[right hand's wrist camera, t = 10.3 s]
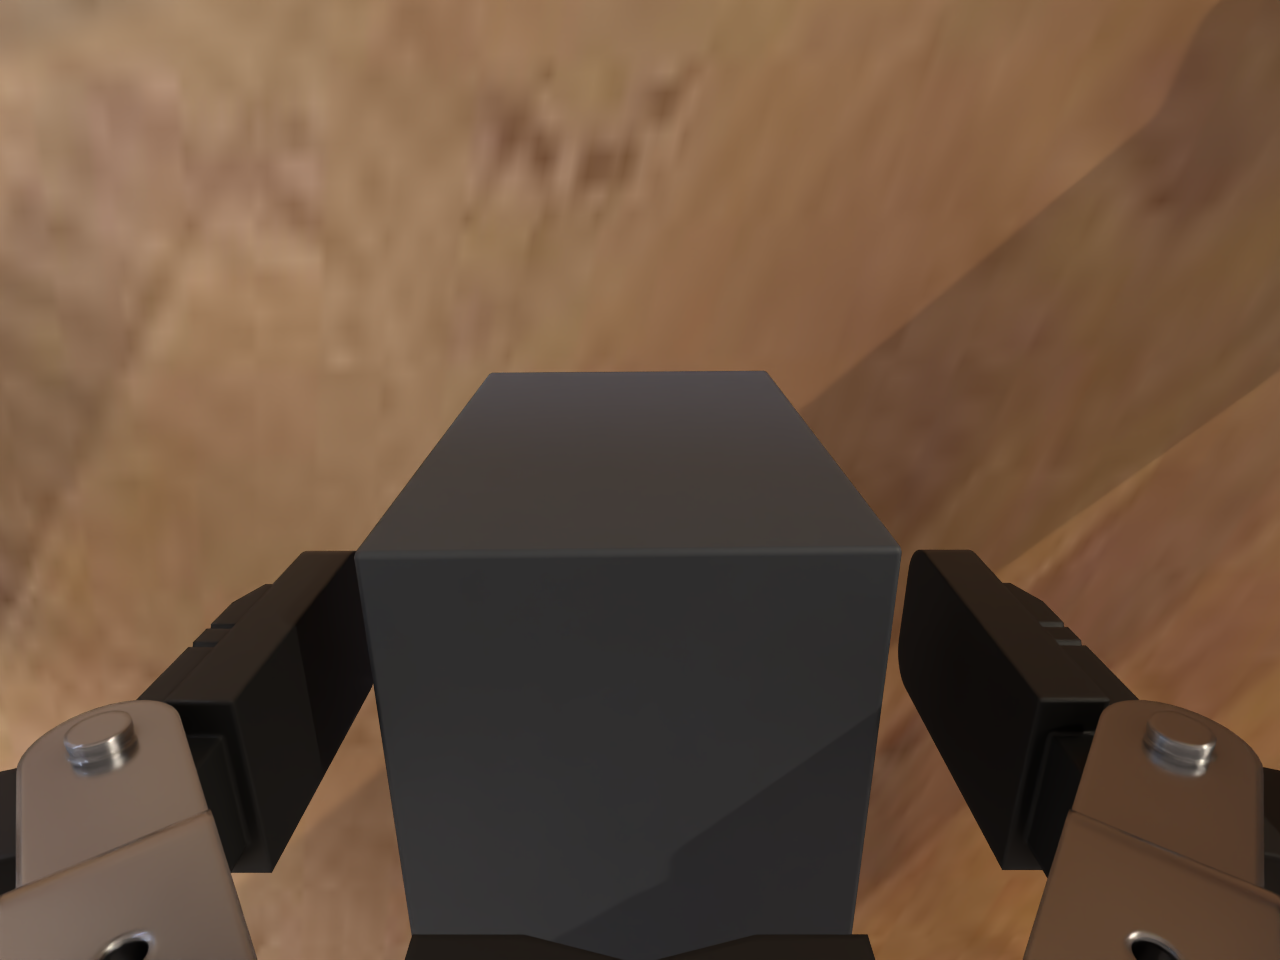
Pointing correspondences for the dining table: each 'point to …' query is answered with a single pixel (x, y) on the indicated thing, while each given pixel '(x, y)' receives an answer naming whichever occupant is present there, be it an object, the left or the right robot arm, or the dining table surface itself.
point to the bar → (629, 665)
